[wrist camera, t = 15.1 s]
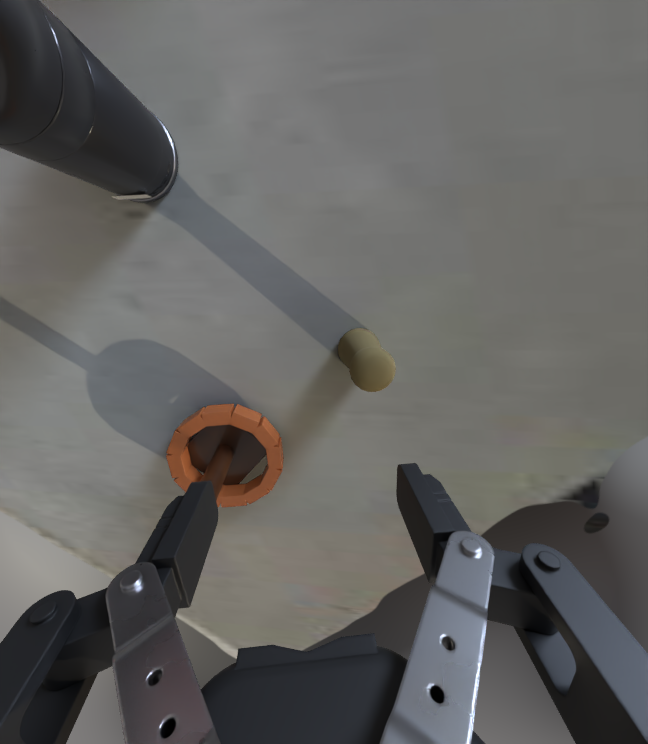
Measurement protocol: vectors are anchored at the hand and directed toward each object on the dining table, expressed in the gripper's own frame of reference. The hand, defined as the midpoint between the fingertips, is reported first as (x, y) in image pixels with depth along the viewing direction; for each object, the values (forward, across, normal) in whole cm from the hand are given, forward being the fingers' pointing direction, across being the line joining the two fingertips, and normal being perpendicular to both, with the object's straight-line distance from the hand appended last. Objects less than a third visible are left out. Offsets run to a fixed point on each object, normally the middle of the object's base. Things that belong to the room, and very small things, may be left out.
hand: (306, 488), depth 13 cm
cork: (+31, -8, +3) cm, 32 cm away
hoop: (+29, +13, +17) cm, 36 cm away
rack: (+31, +13, +17) cm, 38 cm away
